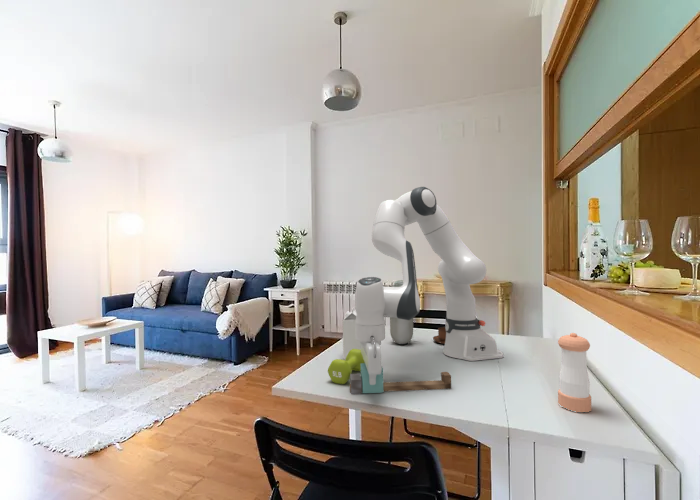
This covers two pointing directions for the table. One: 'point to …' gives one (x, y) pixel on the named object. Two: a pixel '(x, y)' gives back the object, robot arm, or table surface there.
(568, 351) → the pepper shaker
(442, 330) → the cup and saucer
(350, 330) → the milk carton
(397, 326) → the glass bottle
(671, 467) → the table surface
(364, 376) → the block
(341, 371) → the dumbbell
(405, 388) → the rail
